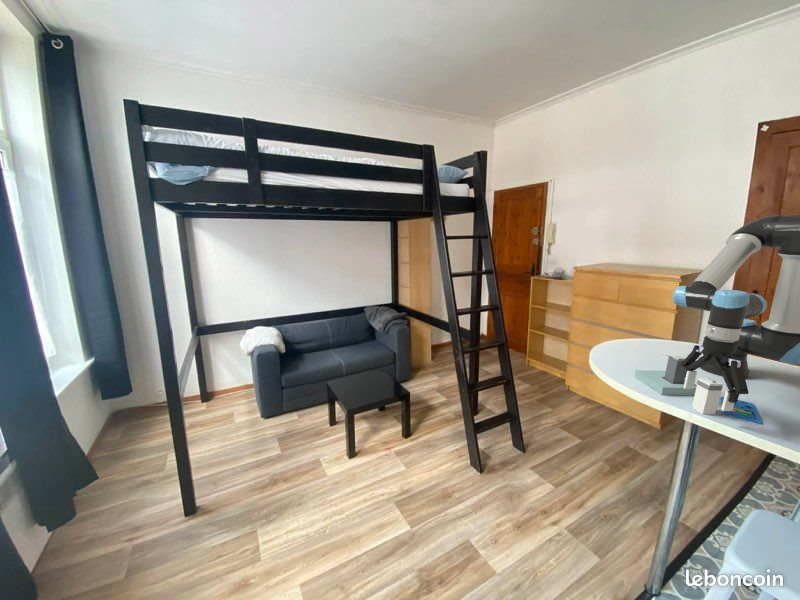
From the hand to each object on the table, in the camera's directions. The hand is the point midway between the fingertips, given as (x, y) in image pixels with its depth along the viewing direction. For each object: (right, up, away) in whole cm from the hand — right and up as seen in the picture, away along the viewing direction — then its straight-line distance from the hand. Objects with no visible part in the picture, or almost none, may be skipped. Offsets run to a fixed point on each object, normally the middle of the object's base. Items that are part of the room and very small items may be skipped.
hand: (706, 398), depth 102 cm
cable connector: (0, -4, +1) cm, 4 cm away
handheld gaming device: (+13, -5, +2) cm, 14 cm away
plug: (+3, -1, +16) cm, 16 cm away
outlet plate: (+2, -1, +18) cm, 18 cm away
